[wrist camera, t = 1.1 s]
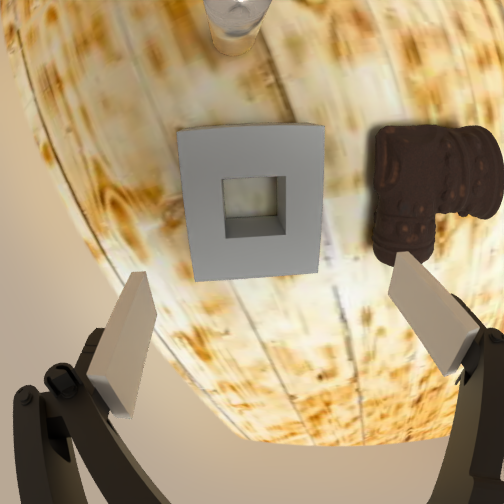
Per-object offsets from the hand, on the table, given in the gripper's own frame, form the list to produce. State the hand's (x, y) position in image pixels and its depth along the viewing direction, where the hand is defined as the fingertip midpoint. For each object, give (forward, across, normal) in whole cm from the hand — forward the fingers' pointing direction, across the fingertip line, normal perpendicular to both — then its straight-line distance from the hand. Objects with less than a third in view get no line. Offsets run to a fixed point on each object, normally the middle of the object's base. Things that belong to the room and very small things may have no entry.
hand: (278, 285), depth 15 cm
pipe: (+17, +20, +1) cm, 26 cm away
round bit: (+17, -1, +16) cm, 23 cm away
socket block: (+17, 0, 0) cm, 17 cm away
